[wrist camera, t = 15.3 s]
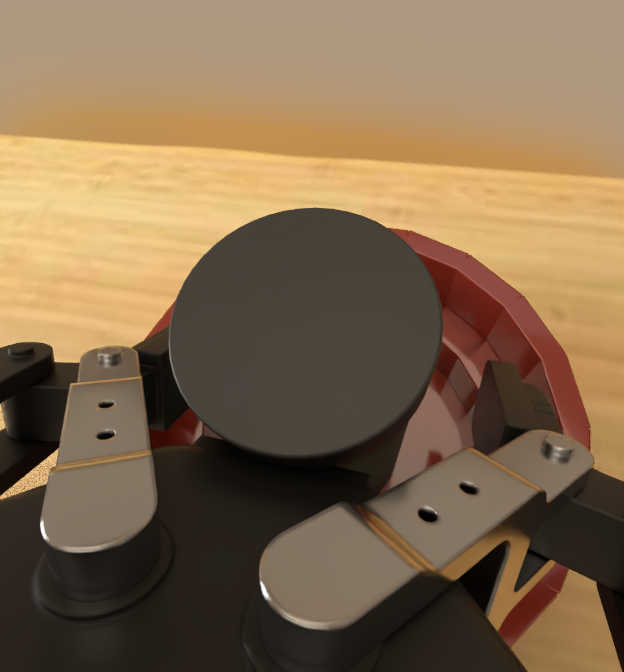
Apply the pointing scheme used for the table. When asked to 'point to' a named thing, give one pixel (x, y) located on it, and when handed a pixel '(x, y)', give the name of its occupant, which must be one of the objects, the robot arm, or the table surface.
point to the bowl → (464, 384)
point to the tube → (308, 340)
